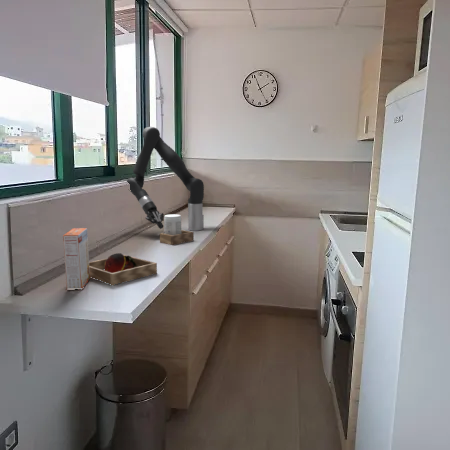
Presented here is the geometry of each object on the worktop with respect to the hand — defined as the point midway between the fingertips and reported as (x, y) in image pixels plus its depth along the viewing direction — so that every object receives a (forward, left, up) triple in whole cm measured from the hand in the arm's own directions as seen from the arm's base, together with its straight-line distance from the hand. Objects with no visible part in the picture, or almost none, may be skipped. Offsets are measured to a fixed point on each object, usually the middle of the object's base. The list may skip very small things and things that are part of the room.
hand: (161, 227), depth 252 cm
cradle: (0, +12, -6) cm, 13 cm away
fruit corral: (+61, +43, -6) cm, 75 cm away
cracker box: (+80, +43, -7) cm, 91 cm away
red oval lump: (+59, +41, -7) cm, 72 cm away
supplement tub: (0, +10, -7) cm, 12 cm away
